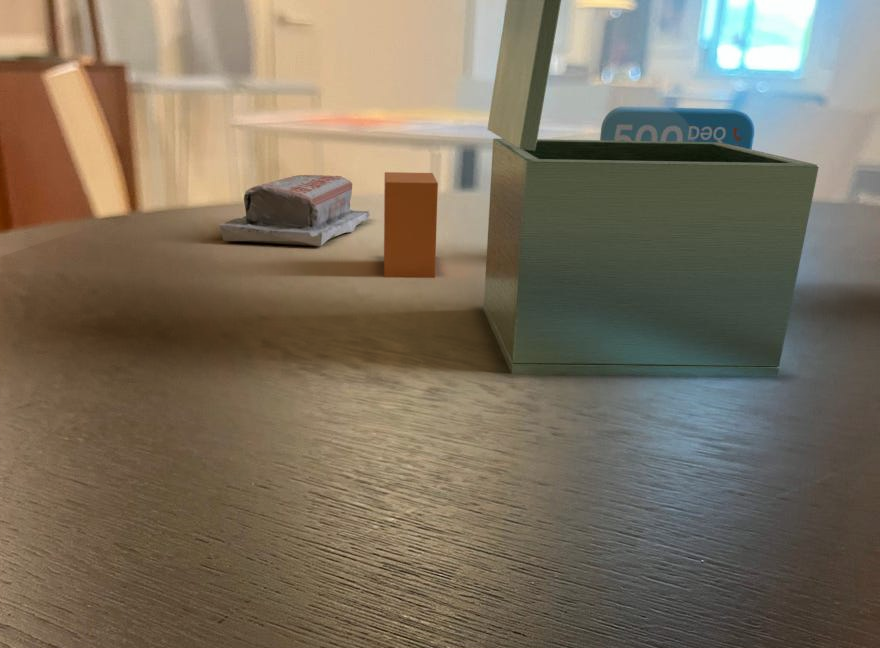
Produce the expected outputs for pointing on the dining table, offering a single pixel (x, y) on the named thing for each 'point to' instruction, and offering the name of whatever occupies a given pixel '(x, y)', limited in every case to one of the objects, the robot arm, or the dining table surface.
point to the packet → (410, 225)
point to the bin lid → (523, 70)
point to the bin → (643, 256)
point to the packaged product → (296, 212)
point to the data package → (678, 125)
